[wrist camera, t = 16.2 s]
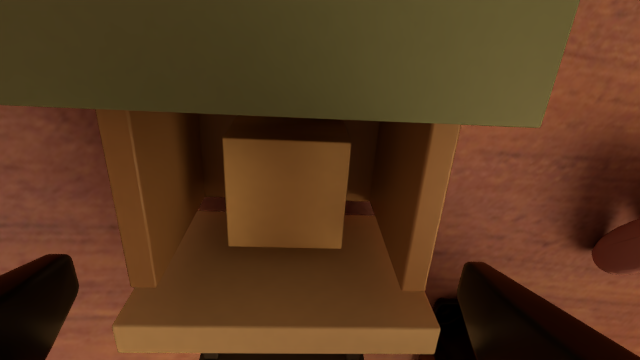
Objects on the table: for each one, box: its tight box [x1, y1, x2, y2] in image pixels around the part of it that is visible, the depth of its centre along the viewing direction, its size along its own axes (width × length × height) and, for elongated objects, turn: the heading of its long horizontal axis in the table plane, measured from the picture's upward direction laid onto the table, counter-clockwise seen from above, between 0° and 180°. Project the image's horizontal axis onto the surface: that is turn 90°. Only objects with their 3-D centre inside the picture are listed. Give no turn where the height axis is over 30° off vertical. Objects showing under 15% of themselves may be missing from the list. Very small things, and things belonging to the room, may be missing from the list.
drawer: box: [95, 109, 461, 360], centre depth 14 cm, size 17×10×7 cm, turn 177°
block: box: [222, 115, 351, 249], centre depth 14 cm, size 4×4×4 cm
